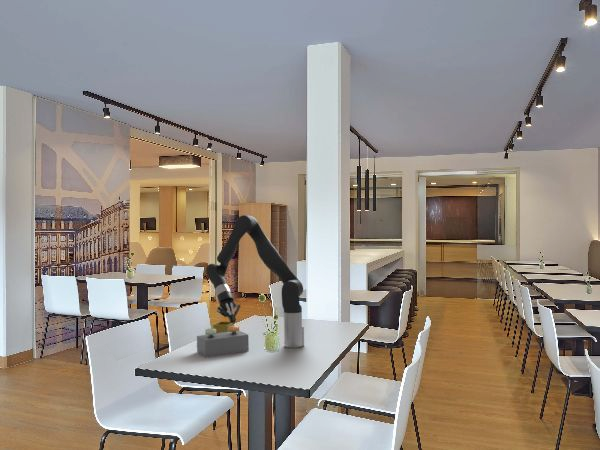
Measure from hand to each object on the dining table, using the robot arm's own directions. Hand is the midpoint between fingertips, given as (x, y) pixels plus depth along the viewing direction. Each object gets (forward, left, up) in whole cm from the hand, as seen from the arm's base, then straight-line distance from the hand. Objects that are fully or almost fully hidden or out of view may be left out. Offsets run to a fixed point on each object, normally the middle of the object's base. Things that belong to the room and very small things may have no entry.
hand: (233, 322), depth 238 cm
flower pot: (-4, -24, -14) cm, 28 cm away
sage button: (+12, 0, -6) cm, 13 cm away
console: (+6, 0, -14) cm, 15 cm away
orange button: (0, 0, -6) cm, 6 cm away
